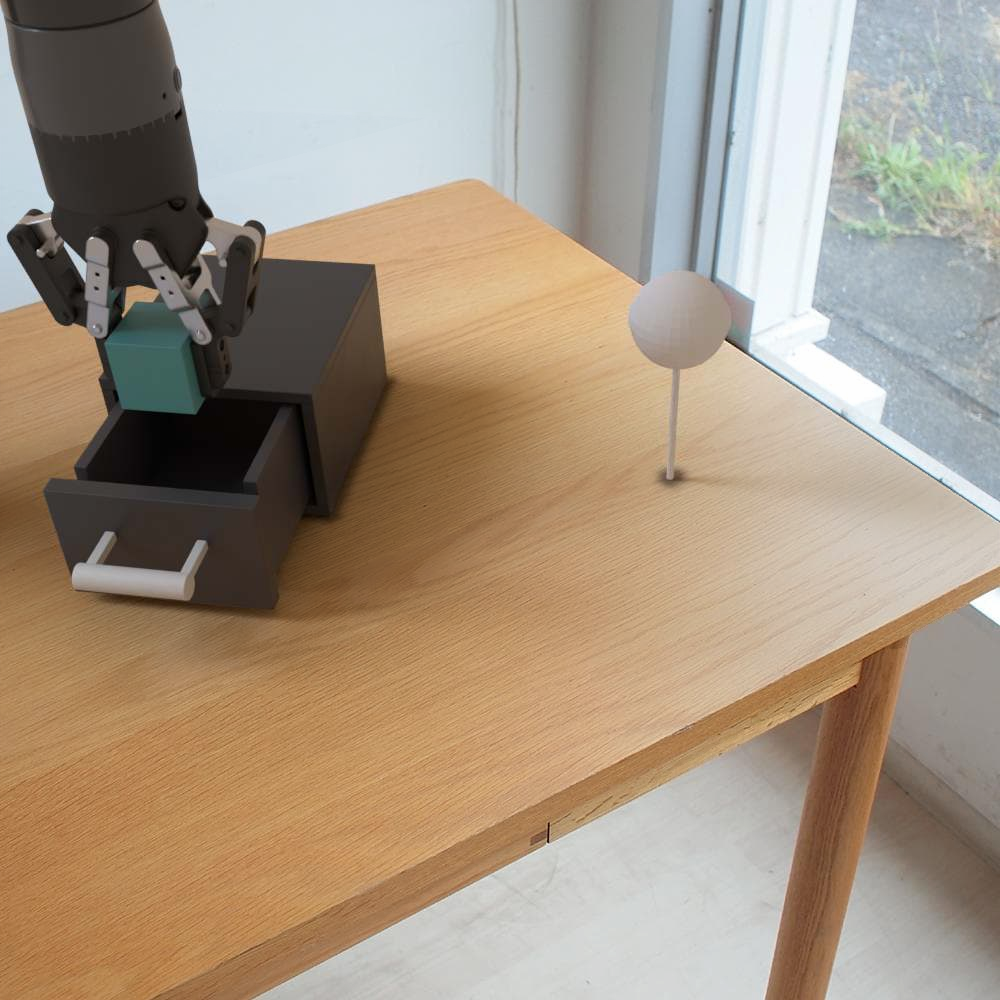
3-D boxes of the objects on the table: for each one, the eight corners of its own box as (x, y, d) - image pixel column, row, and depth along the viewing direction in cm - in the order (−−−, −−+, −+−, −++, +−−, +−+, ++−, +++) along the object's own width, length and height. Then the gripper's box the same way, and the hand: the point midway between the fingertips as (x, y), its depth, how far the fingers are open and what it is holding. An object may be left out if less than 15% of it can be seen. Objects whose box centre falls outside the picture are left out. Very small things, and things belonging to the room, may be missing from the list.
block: (121, 409, 74) (103, 343, 71) (150, 365, 77) (134, 300, 75) (196, 415, 73) (180, 348, 71) (222, 370, 77) (208, 305, 74)
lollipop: (613, 497, 85) (618, 295, 76) (633, 444, 90) (640, 246, 80) (708, 513, 84) (726, 309, 74) (724, 458, 88) (742, 258, 78)
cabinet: (330, 516, 85) (311, 394, 79) (131, 499, 87) (97, 378, 81) (387, 379, 97) (375, 263, 90) (211, 367, 99) (187, 253, 93)
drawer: (251, 664, 74) (228, 561, 69) (44, 642, 76) (7, 540, 71) (339, 459, 88) (325, 361, 83) (163, 445, 90) (139, 348, 85)
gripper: (-70, 124, 63) (26, 416, 73) (216, 135, 60) (272, 435, 71) (2, 63, 68) (82, 343, 79) (267, 71, 66) (311, 358, 77)
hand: (172, 385), depth 75 cm, fingers closed on block, 4 cm apart
